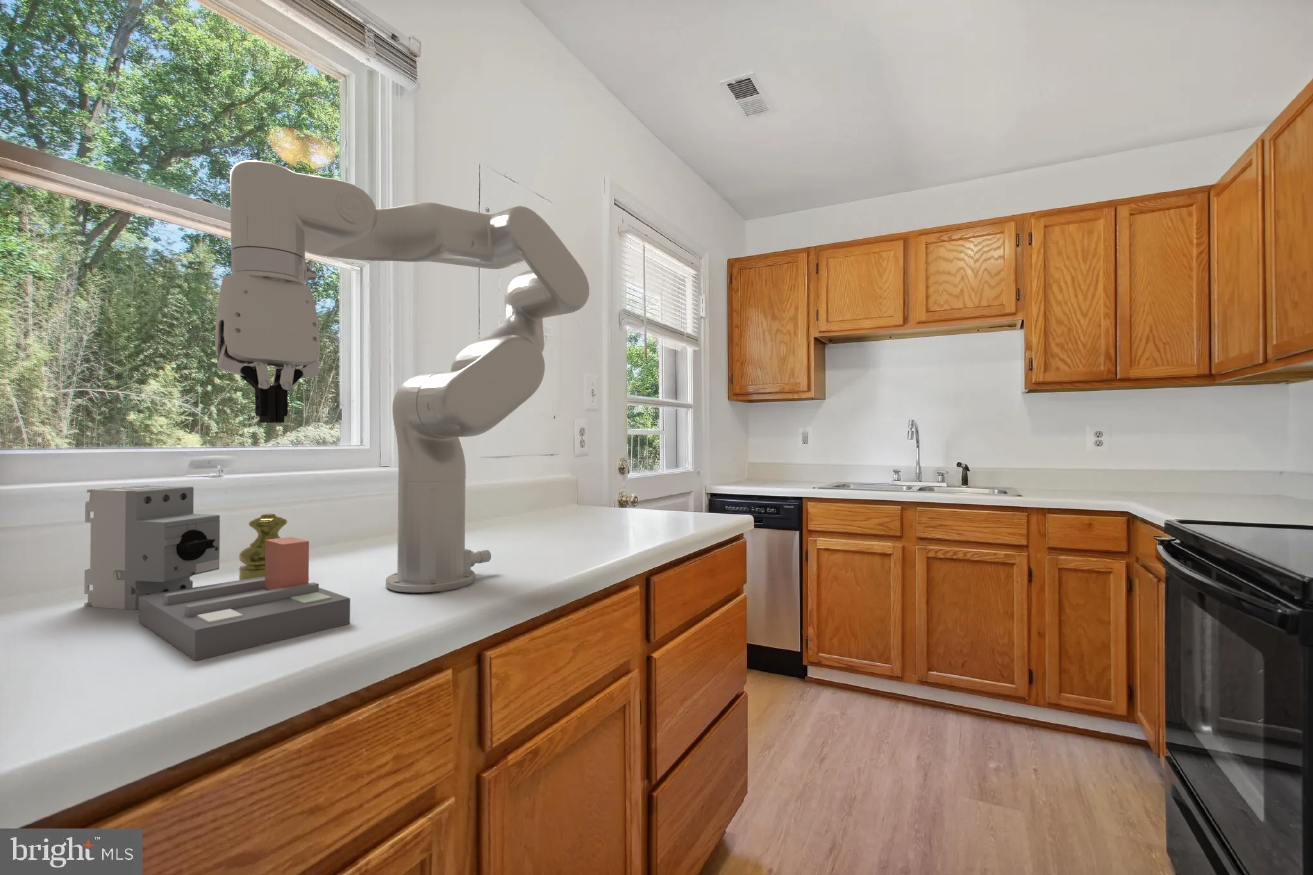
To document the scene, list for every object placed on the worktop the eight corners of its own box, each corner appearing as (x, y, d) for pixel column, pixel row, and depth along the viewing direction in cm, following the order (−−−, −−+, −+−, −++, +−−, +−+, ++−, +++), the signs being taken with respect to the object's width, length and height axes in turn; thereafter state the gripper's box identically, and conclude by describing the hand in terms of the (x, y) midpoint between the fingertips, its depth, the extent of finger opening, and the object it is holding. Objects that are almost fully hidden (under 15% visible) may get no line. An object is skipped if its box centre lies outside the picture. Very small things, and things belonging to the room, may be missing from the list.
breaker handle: (291, 583, 77) (291, 536, 77) (308, 589, 74) (308, 541, 74) (264, 587, 74) (265, 539, 74) (281, 594, 71) (282, 544, 71)
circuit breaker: (174, 613, 74) (176, 492, 74) (84, 605, 77) (85, 489, 77) (229, 597, 81) (230, 487, 81) (144, 591, 84) (145, 485, 84)
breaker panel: (279, 595, 82) (279, 566, 82) (349, 623, 70) (350, 589, 70) (138, 621, 70) (138, 587, 70) (194, 660, 58) (195, 619, 58)
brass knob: (300, 572, 97) (301, 510, 97) (288, 583, 90) (289, 516, 90) (247, 575, 94) (248, 512, 94) (231, 586, 87) (231, 518, 87)
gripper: (320, 287, 81) (322, 423, 81) (183, 263, 69) (186, 422, 69) (347, 278, 76) (349, 422, 76) (205, 251, 64) (208, 422, 64)
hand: (271, 422), depth 73 cm, fingers closed
